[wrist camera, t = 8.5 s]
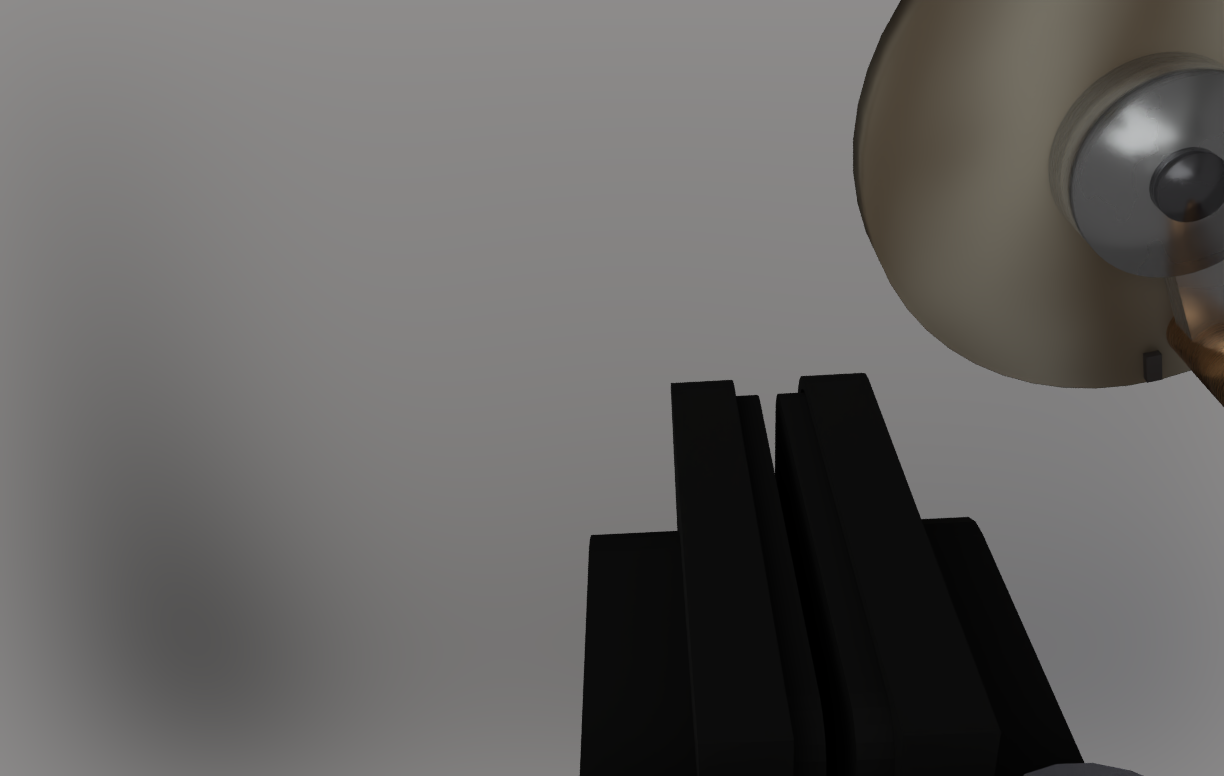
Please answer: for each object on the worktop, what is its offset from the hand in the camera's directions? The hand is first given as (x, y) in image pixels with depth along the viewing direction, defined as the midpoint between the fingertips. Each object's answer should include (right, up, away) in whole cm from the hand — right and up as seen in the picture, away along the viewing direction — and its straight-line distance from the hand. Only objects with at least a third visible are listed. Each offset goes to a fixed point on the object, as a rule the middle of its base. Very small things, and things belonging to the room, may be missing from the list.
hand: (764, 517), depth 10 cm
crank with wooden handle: (+16, +7, +25) cm, 30 cm away
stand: (+15, +10, +26) cm, 31 cm away
